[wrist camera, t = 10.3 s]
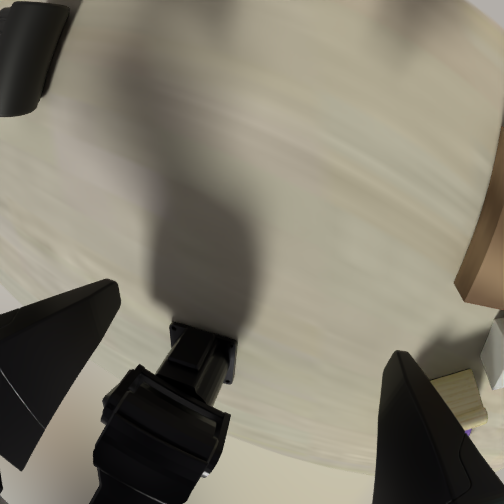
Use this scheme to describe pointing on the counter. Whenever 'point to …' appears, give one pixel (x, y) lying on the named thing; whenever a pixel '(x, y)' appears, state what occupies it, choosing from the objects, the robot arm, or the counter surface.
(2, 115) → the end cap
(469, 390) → the toy sofa
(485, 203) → the base block
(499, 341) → the grey cube
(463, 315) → the counter surface
